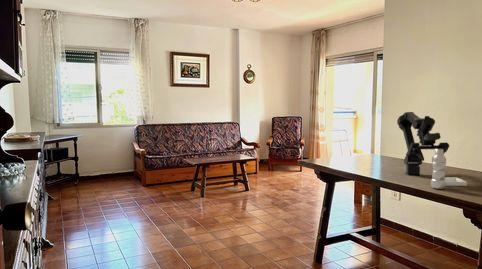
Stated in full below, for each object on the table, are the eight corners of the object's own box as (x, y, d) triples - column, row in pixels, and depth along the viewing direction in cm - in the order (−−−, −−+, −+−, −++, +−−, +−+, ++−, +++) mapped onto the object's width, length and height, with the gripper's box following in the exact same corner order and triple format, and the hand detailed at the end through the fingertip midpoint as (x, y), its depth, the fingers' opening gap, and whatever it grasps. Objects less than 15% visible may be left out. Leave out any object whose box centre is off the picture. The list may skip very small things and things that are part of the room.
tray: (442, 186, 179) (442, 181, 178) (433, 181, 189) (434, 177, 189) (466, 186, 177) (467, 181, 177) (456, 181, 188) (456, 177, 187)
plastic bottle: (440, 186, 178) (441, 148, 176) (448, 190, 171) (449, 149, 169) (427, 187, 178) (428, 148, 176) (435, 190, 171) (436, 150, 169)
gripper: (411, 127, 185) (418, 151, 175) (448, 127, 183) (458, 150, 173) (405, 141, 193) (412, 163, 183) (441, 140, 191) (450, 163, 181)
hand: (433, 160), depth 180 cm, fingers open, 9 cm apart
